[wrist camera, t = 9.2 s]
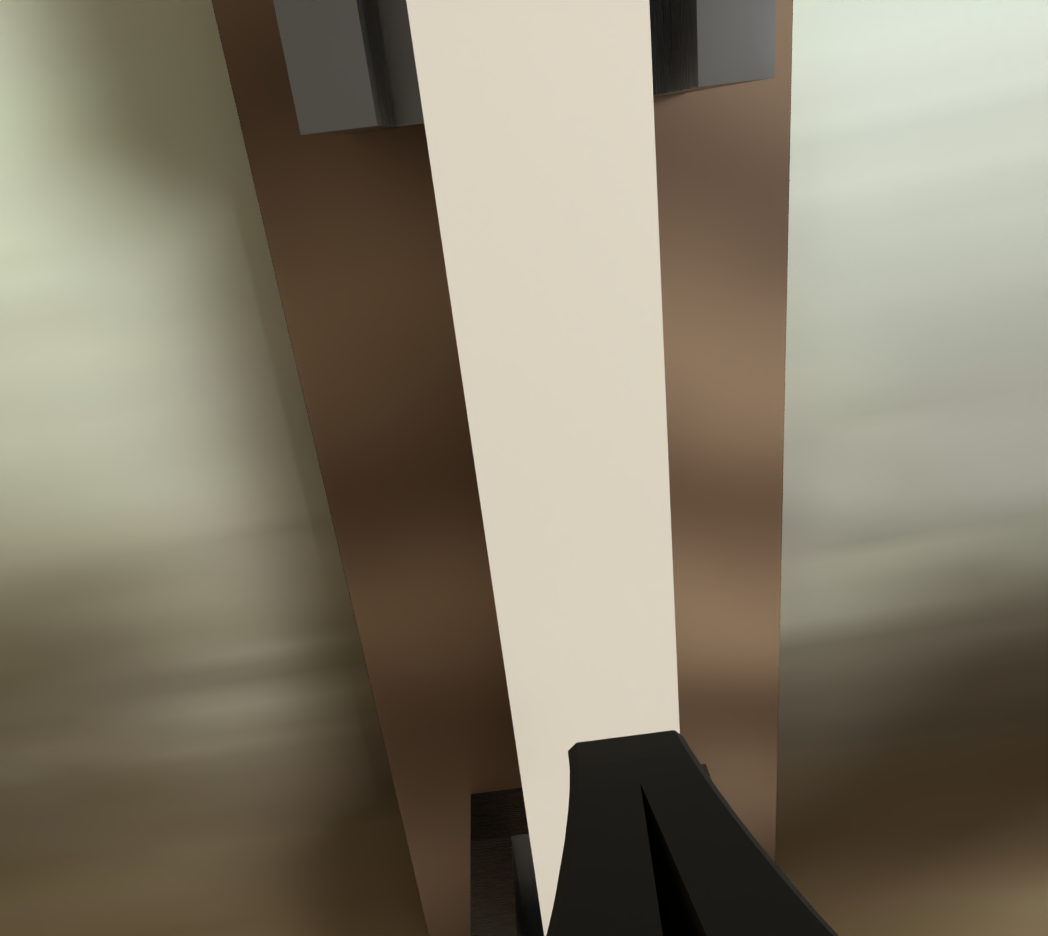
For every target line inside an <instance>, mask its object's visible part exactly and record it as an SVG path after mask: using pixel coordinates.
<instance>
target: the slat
mask: <svg viewBox="0 0 1048 936" xmlns="http://www.w3.org/2000/svg"><path fill="white" fill-rule="evenodd" d="M406 2H407V9H408V16H409V23H410V29H411V36H412V43H413V50H414V57H415V63H416V70H417V77H418V84H419V91H420V97H421V104H422V111H423V118H424V124H425V131H426V138H427V145H428V152H429V158H430V165H431V172H432V179H433V185H434V192H435V199H436V206H437V213H438V219H439V226H440V233H441V240H442V246H443V253H444V260H445V267H446V274H447V280H448V287H449V294H450V301H451V308H452V314H453V321H454V328H455V335H456V341H457V348H458V355H459V362H460V369H461V375H462V382H463V389H464V396H465V402H466V409H467V416H468V423H469V430H470V436H471V443H472V450H473V457H474V464H475V470H476V477H477V484H478V491H479V497H480V504H481V511H482V518H483V525H484V531H485V538H486V545H487V552H488V558H489V565H490V572H491V579H492V586H493V592H494V599H495V606H496V613H497V619H498V626H499V633H500V640H501V647H502V653H503V660H504V667H505V674H506V681H507V687H508V694H509V701H510V708H511V714H512V721H513V728H514V735H515V742H516V748H517V755H518V762H519V769H520V775H521V782H522V789H523V796H524V803H525V809H526V816H527V823H528V830H529V837H530V843H531V850H532V857H533V864H534V870H535V877H536V884H537V891H538V898H539V904H540V911H541V918H542V925H543V931H544V936H546V935H547V931H548V927H549V922H550V918H551V914H552V909H553V905H554V900H555V894H556V889H557V883H558V877H559V871H560V865H561V859H562V853H563V848H564V842H565V833H566V825H567V816H568V805H569V789H570V767H569V757H568V750H569V749H570V748H571V747H572V746H573V745H574V744H575V743H577V742H585V741H593V740H601V739H608V738H616V737H624V736H632V735H639V734H647V733H655V732H662V731H670V730H675V731H676V732H678V733H679V734H680V726H679V702H678V678H677V654H676V630H675V606H674V582H673V558H672V534H671V510H670V486H669V462H668V438H667V414H666V390H665V366H664V342H663V318H662V294H661V270H660V246H659V222H658V198H657V174H656V150H655V126H654V102H653V78H652V54H651V29H650V5H649V0H406Z"/></svg>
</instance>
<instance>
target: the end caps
mask: <svg viewBox="0 0 1048 936" xmlns="http://www.w3.org/2000/svg"><path fill="white" fill-rule="evenodd" d="M273 3H274V8H275V13H276V17H277V22H278V27H279V32H280V37H281V42H282V47H283V52H284V56H285V61H286V66H287V71H288V76H289V81H290V86H291V90H292V95H293V100H294V105H295V110H296V115H297V120H298V124H299V129H300V134H301V135H313V134H344V133H356V132H365V131H373V130H381V129H390V128H398V127H406V126H414V125H423V124H424V118H423V111H422V104H421V97H420V91H419V84H418V77H417V70H416V63H415V57H414V50H413V43H412V36H411V29H410V23H409V16H408V9H407V2H406V0H273ZM649 5H650V29H651V54H652V78H653V97H655V96H663V95H671V94H680V93H688V92H694V91H700V90H706V89H711V88H717V87H723V86H729V85H735V84H741V83H747V82H752V81H758V80H764V79H770V78H774V75H775V0H649ZM701 766H702V767H703V769H704V770H705V772H706V773H707V774H708V776H709V777H710V774H709V772H708V769H707V766H706V764H701ZM710 779H711V777H710ZM470 936H544V931H543V925H542V918H541V911H540V904H539V898H538V891H537V884H536V877H535V870H534V864H533V857H532V850H531V843H530V837H529V830H528V823H527V816H526V809H525V803H524V796H523V789H522V788H514V789H507V790H499V791H491V792H484V793H476V794H471V825H470Z"/></svg>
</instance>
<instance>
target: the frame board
mask: <svg viewBox="0 0 1048 936" xmlns="http://www.w3.org/2000/svg"><path fill="white" fill-rule="evenodd" d="M212 4H213V8H214V12H215V17H216V21H217V25H218V29H219V34H220V38H221V42H222V47H223V51H224V55H225V60H226V64H227V68H228V73H229V77H230V81H231V85H232V90H233V94H234V98H235V103H236V107H237V111H238V116H239V120H240V124H241V129H242V133H243V137H244V141H245V146H246V150H247V154H248V159H249V163H250V167H251V172H252V176H253V180H254V185H255V189H256V193H257V197H258V202H259V206H260V210H261V215H262V219H263V223H264V228H265V232H266V236H267V241H268V245H269V249H270V253H271V258H272V262H273V266H274V271H275V275H276V279H277V284H278V288H279V292H280V297H281V301H282V305H283V309H284V314H285V318H286V322H287V327H288V331H289V335H290V340H291V344H292V348H293V353H294V357H295V361H296V365H297V370H298V374H299V378H300V383H301V387H302V391H303V396H304V400H305V404H306V408H307V413H308V417H309V421H310V426H311V430H312V434H313V439H314V443H315V447H316V452H317V456H318V460H319V464H320V469H321V473H322V477H323V482H324V486H325V490H326V495H327V499H328V503H329V508H330V512H331V516H332V520H333V525H334V529H335V533H336V538H337V542H338V546H339V551H340V555H341V559H342V564H343V568H344V572H345V576H346V581H347V585H348V589H349V594H350V598H351V602H352V607H353V611H354V615H355V620H356V624H357V628H358V632H359V637H360V641H361V645H362V650H363V654H364V658H365V663H366V667H367V671H368V676H369V680H370V684H371V688H372V693H373V697H374V701H375V706H376V710H377V714H378V719H379V723H380V727H381V732H382V736H383V740H384V744H385V749H386V753H387V757H388V762H389V766H390V770H391V775H392V779H393V783H394V787H395V792H396V796H397V800H398V805H399V809H400V813H401V818H402V822H403V826H404V831H405V835H406V839H407V843H408V848H409V852H410V856H411V861H412V865H413V869H414V874H415V878H416V882H417V887H418V891H419V895H420V899H421V904H422V908H423V912H424V917H425V921H426V925H427V930H428V934H429V936H470V825H471V794H476V793H484V792H491V791H499V790H507V789H514V788H522V782H521V775H520V769H519V762H518V755H517V748H516V742H515V735H514V728H513V721H512V714H511V708H510V701H509V694H508V687H507V681H506V674H505V667H504V660H503V653H502V647H501V640H500V633H499V626H498V619H497V613H496V606H495V599H494V592H493V586H492V579H491V572H490V565H489V558H488V552H487V545H486V538H485V531H484V525H483V518H482V511H481V504H480V497H479V491H478V484H477V477H476V470H475V464H474V457H473V450H472V443H471V436H470V430H469V423H468V416H467V409H466V402H465V396H464V389H463V382H462V375H461V369H460V362H459V355H458V348H457V341H456V335H455V328H454V321H453V314H452V308H451V301H450V294H449V287H448V280H447V274H446V267H445V260H444V253H443V246H442V240H441V233H440V226H439V219H438V213H437V206H436V199H435V192H434V185H433V179H432V172H431V165H430V158H429V152H428V145H427V138H426V131H425V124H423V125H414V126H406V127H398V128H390V129H381V130H373V131H365V132H356V133H344V134H313V135H301V134H300V129H299V124H298V120H297V115H296V110H295V105H294V100H293V95H292V90H291V86H290V81H289V76H288V71H287V66H286V61H285V56H284V52H283V47H282V42H281V37H280V32H279V27H278V22H277V17H276V13H275V8H274V3H273V0H212ZM792 22H793V0H775V75H774V78H770V79H764V80H758V81H752V82H747V83H741V84H735V85H729V86H723V87H717V88H711V89H706V90H700V91H694V92H688V93H680V94H671V95H663V96H655V97H653V102H654V126H655V150H656V174H657V198H658V222H659V246H660V270H661V294H662V318H663V342H664V366H665V390H666V414H667V438H668V462H669V486H670V510H671V534H672V558H673V582H674V606H675V630H676V654H677V678H678V702H679V726H680V735H682V736H683V737H684V739H685V740H686V742H687V744H688V745H689V747H690V749H691V750H692V752H693V753H694V755H695V756H696V758H697V760H698V761H699V763H700V764H706V766H707V769H708V772H709V774H710V777H711V780H712V782H713V783H714V784H715V786H716V787H717V789H718V790H719V791H720V793H721V794H722V796H723V797H724V798H725V800H726V801H727V802H728V804H729V805H730V806H731V808H732V809H733V810H734V812H735V813H736V814H737V816H738V817H739V818H740V820H741V821H742V822H743V824H744V825H745V826H746V827H747V829H748V830H749V831H750V833H751V834H752V835H753V837H754V838H755V839H756V840H757V841H758V843H759V844H760V845H761V846H762V848H763V849H764V850H765V851H766V852H767V854H768V855H769V856H770V857H771V858H772V860H773V861H774V862H775V839H776V791H777V743H778V695H779V647H780V599H781V551H782V503H783V455H784V407H785V358H786V310H787V262H788V214H789V166H790V118H791V70H792Z"/></svg>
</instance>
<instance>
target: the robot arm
mask: <svg viewBox="0 0 1048 936" xmlns="http://www.w3.org/2000/svg"><path fill="white" fill-rule="evenodd" d="M568 757H569V767H570V789H569V805H568V816H567V825H566V833H565V842H564V848H563V853H562V859H561V865H560V871H559V877H558V883H557V889H556V894H555V900H554V905H553V909H552V914H551V918H550V922H549V927H548V931H547V935H546V936H838V935H837V934H836V932H835V931H834V930H833V929H832V928H831V927H830V926H829V925H828V924H827V923H826V921H825V920H824V919H823V918H822V917H821V916H820V915H819V914H818V913H817V912H816V910H815V909H814V908H813V907H812V906H811V905H810V904H809V902H808V901H807V900H806V899H805V898H804V897H803V896H802V894H801V893H800V892H799V891H798V890H797V889H796V887H795V886H794V885H793V884H792V883H791V882H790V880H789V879H788V878H787V877H786V876H785V874H784V873H783V872H782V871H781V869H780V868H779V867H778V866H777V865H776V863H775V862H774V861H773V860H772V858H771V857H770V856H769V855H768V854H767V852H766V851H765V850H764V849H763V848H762V846H761V845H760V844H759V843H758V841H757V840H756V839H755V838H754V837H753V835H752V834H751V833H750V831H749V830H748V829H747V827H746V826H745V825H744V824H743V822H742V821H741V820H740V818H739V817H738V816H737V814H736V813H735V812H734V810H733V809H732V808H731V806H730V805H729V804H728V802H727V801H726V800H725V798H724V797H723V796H722V794H721V793H720V791H719V790H718V789H717V787H716V786H715V784H714V783H713V782H712V780H711V779H710V777H709V776H708V774H707V773H706V772H705V770H704V769H703V767H702V766H701V764H700V763H699V761H698V760H697V758H696V756H695V755H694V753H693V752H692V750H691V749H690V747H689V745H688V744H687V742H686V740H685V739H684V737H683V736H682V735H680V734H679V733H678V732H676V731H675V730H670V731H662V732H655V733H647V734H639V735H632V736H624V737H616V738H608V739H601V740H593V741H585V742H577V743H575V744H574V745H573V746H572V747H571V748H570V749H569V750H568Z"/></svg>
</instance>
